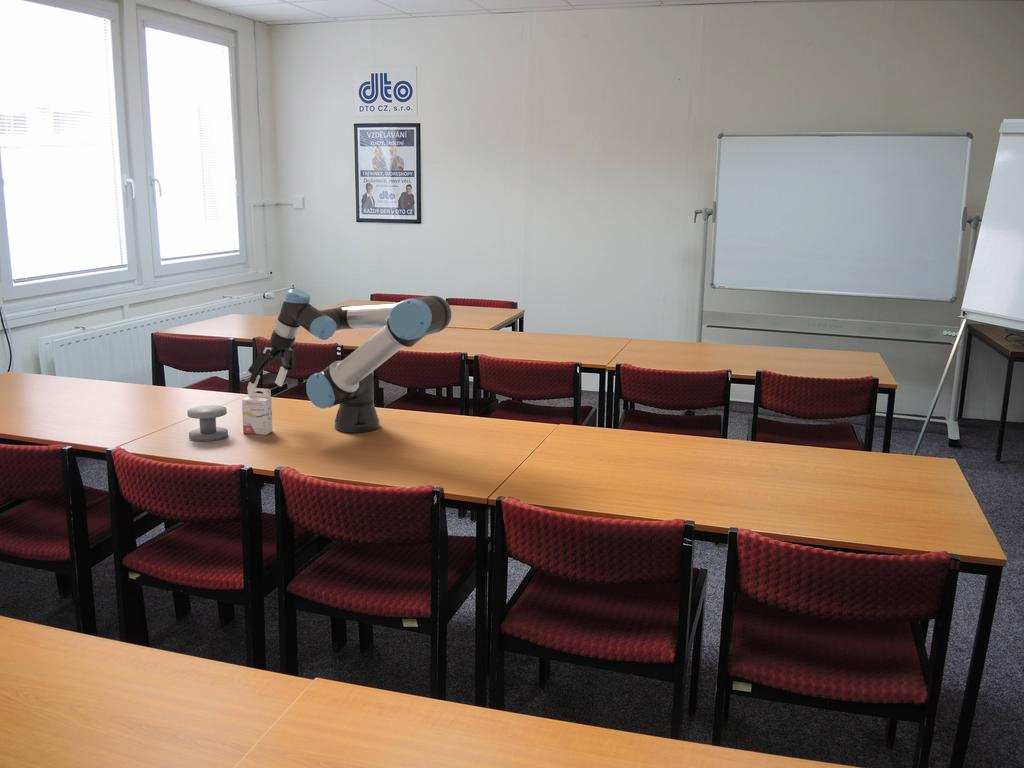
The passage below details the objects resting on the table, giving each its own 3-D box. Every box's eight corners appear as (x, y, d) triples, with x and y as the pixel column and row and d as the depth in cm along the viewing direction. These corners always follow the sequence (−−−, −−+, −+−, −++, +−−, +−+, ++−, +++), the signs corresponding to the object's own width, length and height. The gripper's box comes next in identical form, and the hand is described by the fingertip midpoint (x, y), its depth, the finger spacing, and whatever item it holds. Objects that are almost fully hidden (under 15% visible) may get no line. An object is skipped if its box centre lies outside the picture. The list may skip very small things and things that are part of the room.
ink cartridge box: (242, 433, 275) (240, 390, 272) (248, 430, 280) (247, 387, 277) (267, 435, 274) (265, 391, 272) (273, 431, 279) (271, 388, 276)
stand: (235, 434, 275) (234, 407, 273) (209, 443, 264) (207, 416, 262) (208, 429, 280) (206, 403, 278) (180, 438, 269) (178, 411, 267)
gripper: (301, 324, 287) (281, 376, 294) (249, 331, 265) (230, 387, 272) (317, 335, 285) (297, 387, 292) (266, 343, 263) (246, 399, 270)
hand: (264, 387), depth 282 cm, fingers open, 13 cm apart
